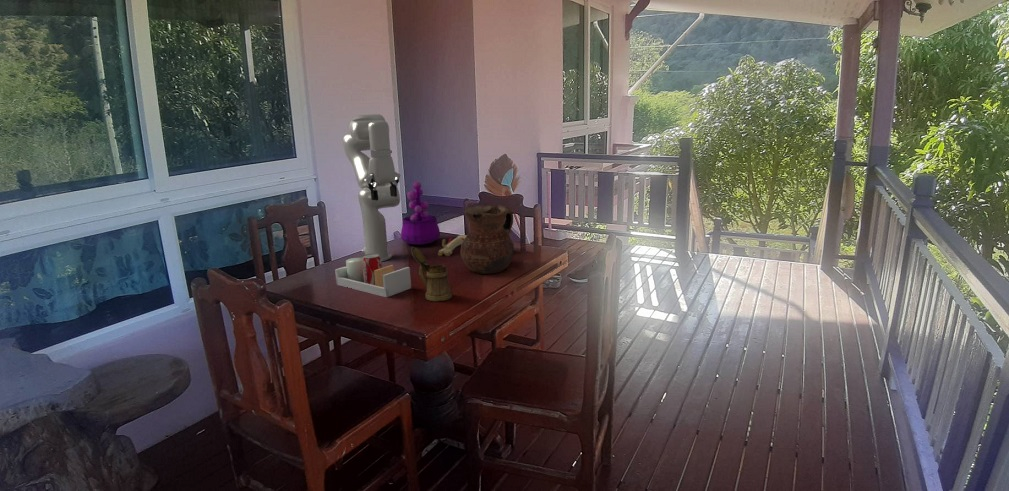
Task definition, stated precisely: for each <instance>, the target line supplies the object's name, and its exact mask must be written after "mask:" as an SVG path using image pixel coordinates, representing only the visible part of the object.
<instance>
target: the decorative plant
mask: <svg viewBox="0 0 1009 491" xmlns="http://www.w3.org/2000/svg"><path fill="white" fill-rule="evenodd" d="M412 188H413V189H414V190H410V191H408V192H407V195H406V197H407V199H408V200H410V201H409V203H408V207H409V208H410V210H413V211H414V212H415V213H414V214H412V215H411V216H406V217H404V218H402V227H401V231H400V239H401V240H402V241H403V242H404V243H407V244H410V245H415V246H416V245H417V246H419V245H420V246H421V245H428V244H431V243H434V242H436V241H438V240H439V238H440V237H441V230H440V227H439V224H438V220H437V217H436V216H435V215H432V214H431V215H430V214H429V212H428V211H427V209H428V208H429V203H428V202H427V201H426V200H425V201H421V196H422V195H423V194H424V190H422V189H421V188H422V184H421V182H419V181H414V182H413V184H412Z"/></svg>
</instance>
